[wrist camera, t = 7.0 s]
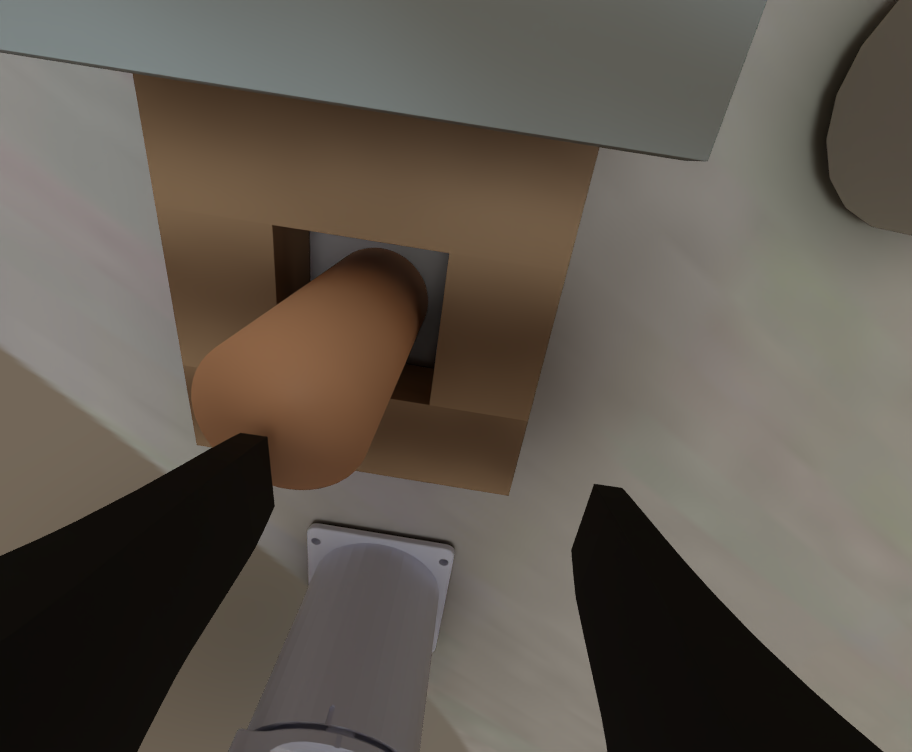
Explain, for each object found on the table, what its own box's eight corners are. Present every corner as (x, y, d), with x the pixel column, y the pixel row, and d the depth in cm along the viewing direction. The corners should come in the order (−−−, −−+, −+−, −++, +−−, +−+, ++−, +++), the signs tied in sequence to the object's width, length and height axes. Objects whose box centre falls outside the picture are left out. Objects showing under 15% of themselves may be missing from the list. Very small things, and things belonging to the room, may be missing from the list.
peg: (418, 353, 18) (360, 505, 10) (326, 331, 18) (196, 468, 10) (437, 261, 17) (383, 361, 9) (334, 236, 16) (184, 313, 8)
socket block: (506, 451, 20) (516, 679, 12) (235, 407, 20) (37, 600, 12) (611, 19, 13) (870, -280, 4) (183, -48, 13) (-492, -487, 4)
